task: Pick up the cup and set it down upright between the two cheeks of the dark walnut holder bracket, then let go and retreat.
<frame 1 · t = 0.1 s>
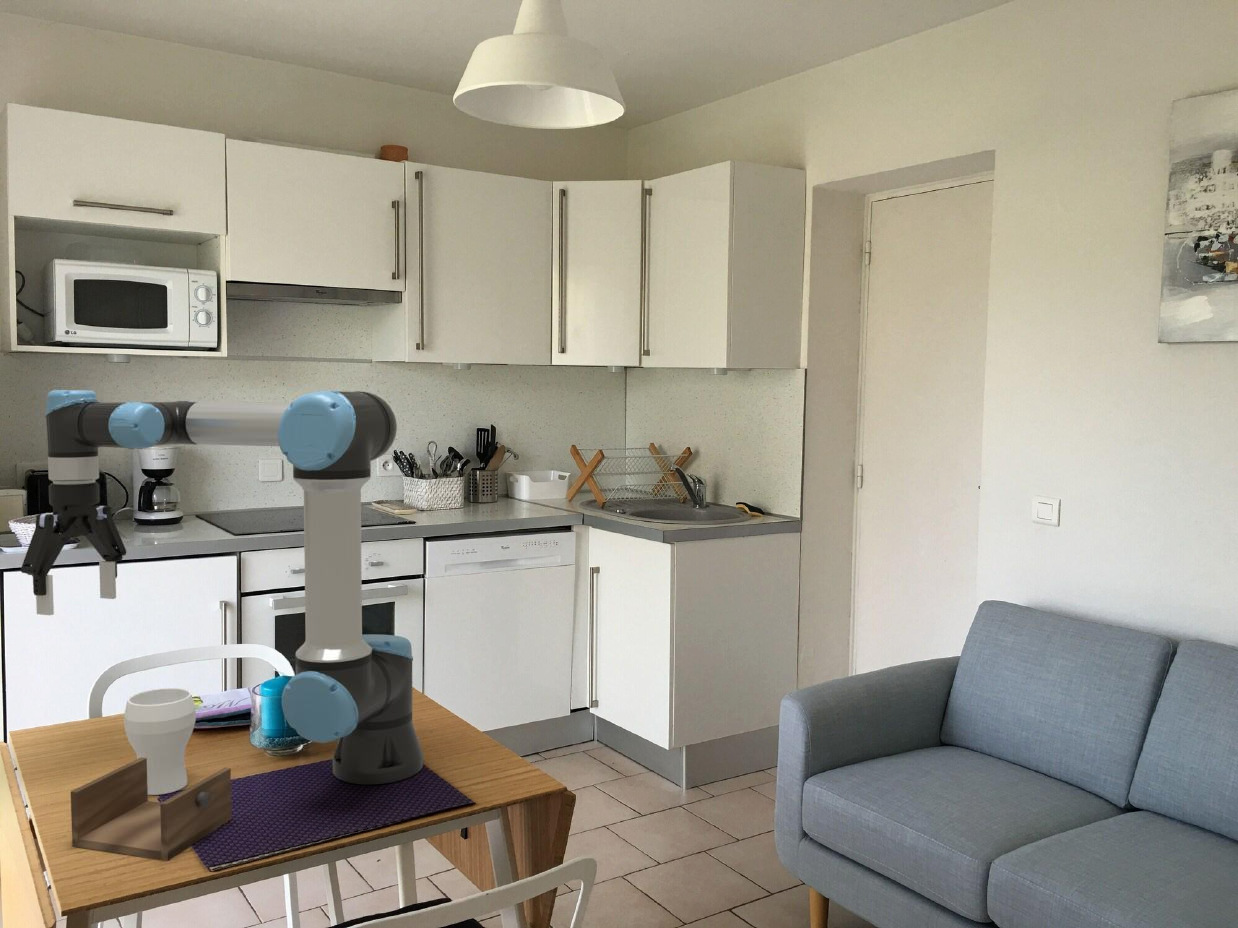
hand: (77, 606, 173), 28 cm above the table, fingers open, 13 cm apart
holder: (154, 832, 149), on the table
cup: (162, 787, 167), on the table
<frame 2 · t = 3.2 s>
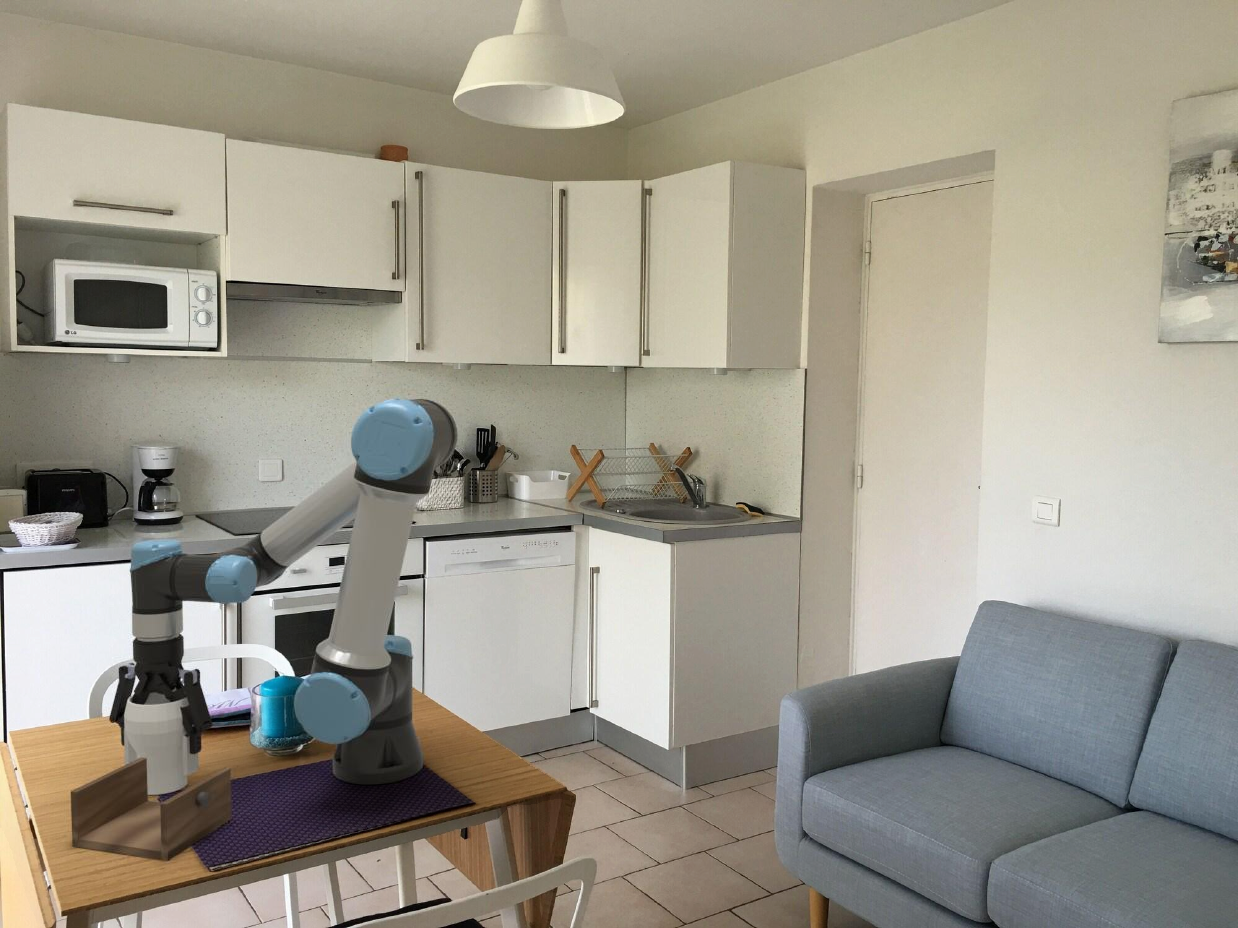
hand: (161, 768, 167), 3 cm above the table, fingers closed on cup, 10 cm apart
cup: (162, 787, 167), on the table, touching gripper
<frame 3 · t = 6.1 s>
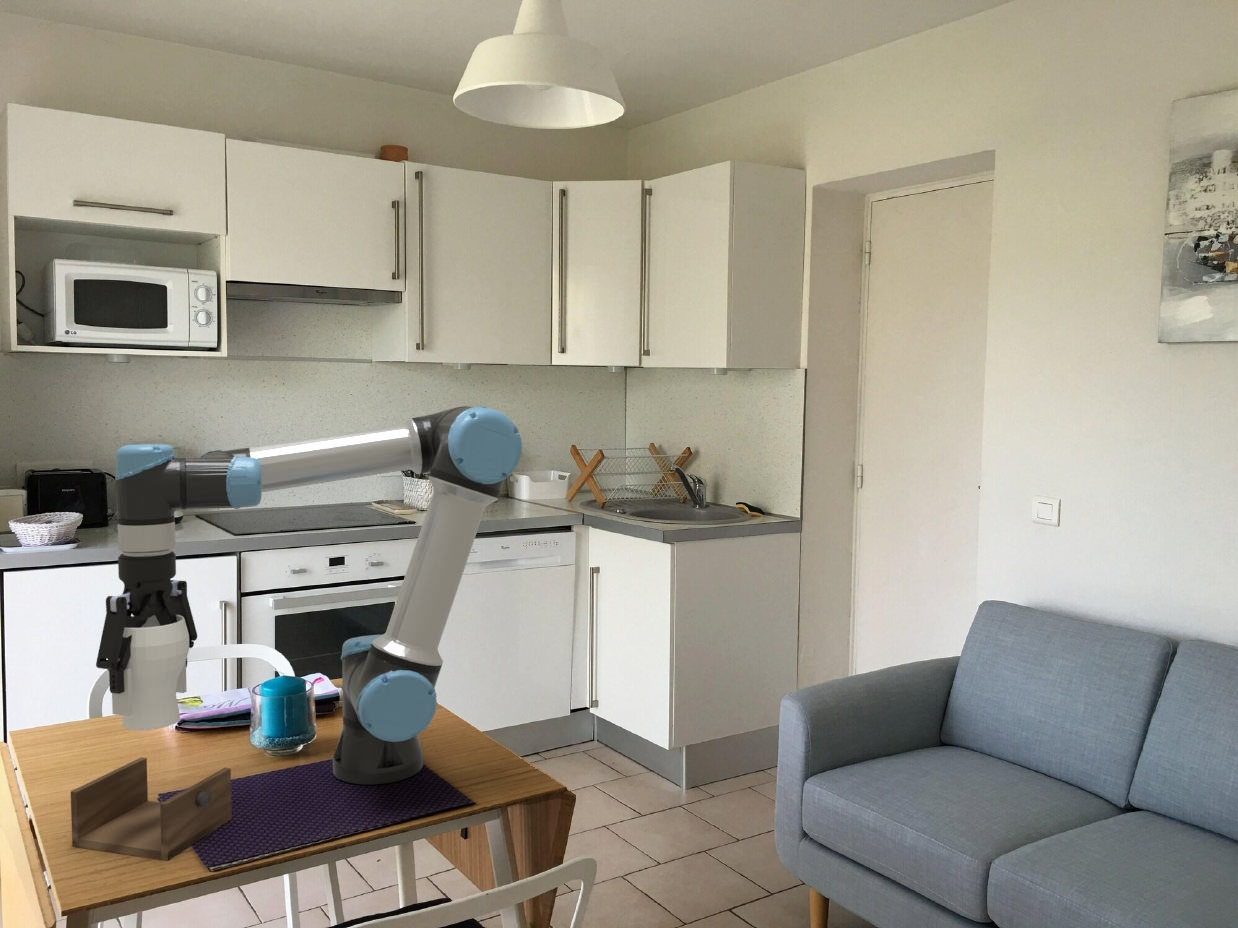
hand: (150, 702, 148), 19 cm above the table, fingers closed on cup, 10 cm apart
cup: (151, 723, 148), point 16 cm above the table, touching gripper
when the fingers open (5 cm above the table, at t = 9.2 s): cup drops 1 cm, resting on holder.
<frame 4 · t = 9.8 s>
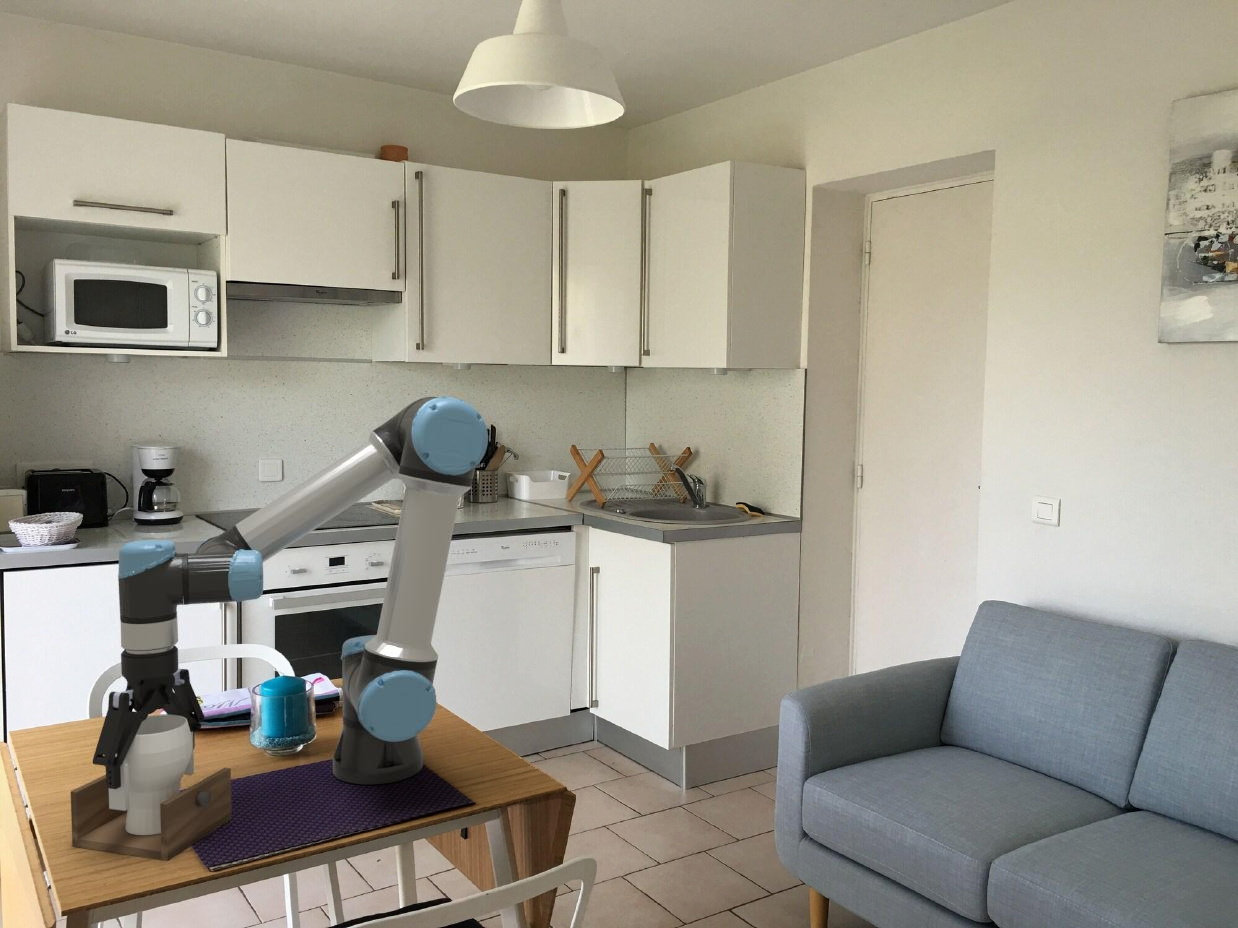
hand: (153, 790, 149), 6 cm above the table, fingers open, 13 cm apart
cup: (154, 825, 149), point 1 cm above the table, touching holder
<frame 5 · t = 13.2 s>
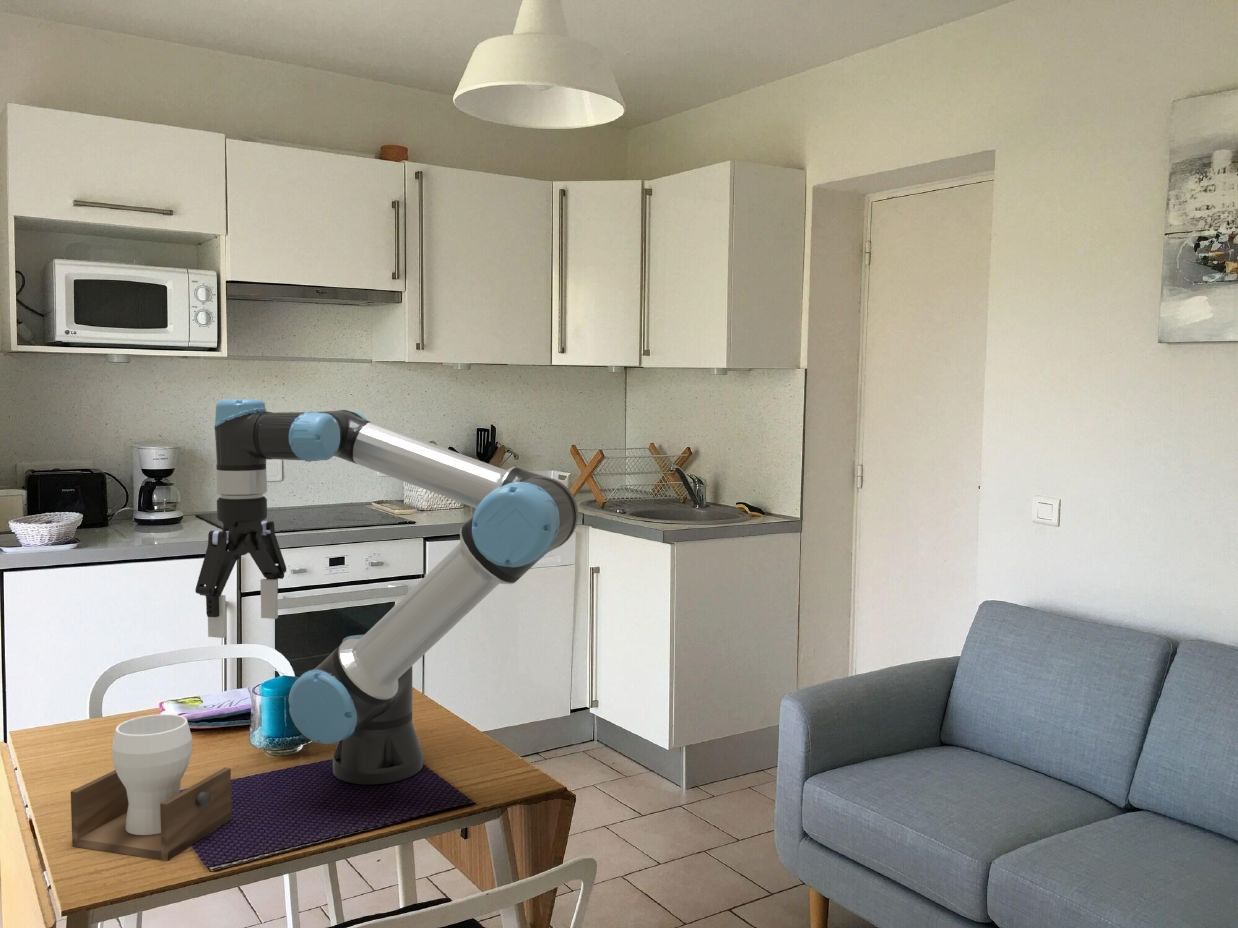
hand: (244, 627, 164), 27 cm above the table, fingers open, 13 cm apart
nothing on the table moved.
at the end: cup inside the target area on the holder (0.0 cm from its centre), point 1.0 cm above the holder's base; cup tilted 0°; the gripper is holding nothing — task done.
